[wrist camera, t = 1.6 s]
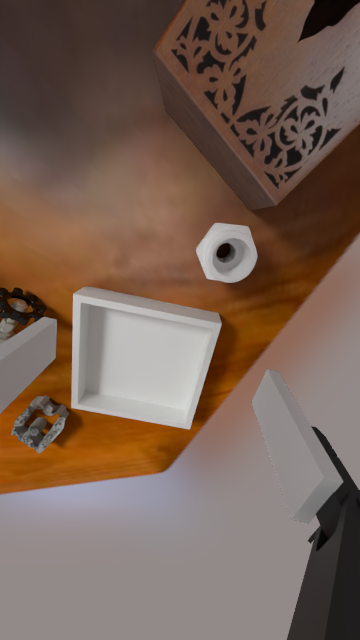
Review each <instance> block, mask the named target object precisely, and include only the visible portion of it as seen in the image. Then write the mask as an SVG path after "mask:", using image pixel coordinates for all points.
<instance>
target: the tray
mask: <svg viewBox="0 0 360 640" xmlns="http://www.w3.org/2000/svg"><path fill="white" fill-rule="evenodd" d="M221 325H222V323H221V320H220V316H219V313H216V312H211V311H206V310H201V309H196V308H191V307H187V306H182V305H177V304H172V303H167V302H162V301H157V300H153V299H148V298H143V297H138V296H133V295H128V294H123V293H118V292H114V291H109V290H104V289H99V288H94V287H89V286H85V287H83V288H82V289H80V290H78V291H77V292H75V293H74V294H73V339H72V400H71V408H75V409H80V410H86V411H91V412H97V413H102V414H108V415H113V416H119V417H124V418H130V419H135V420H141V421H146V422H152V423H157V424H163V425H168V426H174V427H179V428H185V429H190V427H191V424H192V420H193V417H194V414H195V411H196V407H197V404H198V401H199V397H200V394H201V391H202V388H203V384H204V381H205V378H206V374H207V371H208V368H209V365H210V361H211V358H212V355H213V351H214V348H215V345H216V342H217V338H218V335H219V332H220V328H221Z"/></svg>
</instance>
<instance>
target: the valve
mask: <svg viewBox="0 0 360 640" xmlns="http://www.w3.org/2000/svg"><path fill="white" fill-rule="evenodd" d="M0 295H2V296H3V297H0V309H1V312H0V316H1V317H2V318H3V319H2V321H1V323H0V345H1V344H2V343H4V342H5V341H7V340H8V339H10V338H11V337H13V336H15V335H16V334H15V333H14V331H13V330H14V329H15V328H16V326H17V324H18V323H19V324H21V325H26V324H27V323H28V322H29V320H30V318H32V317H33V318H35V321H34V322H36V321H38V320H40V319H41V318H43V317H44V316H43V315H42V314H43V313H44V312H45V311H46V309H47V308H46V307H45V306H44V305H38V304H37V303H36V302H37V300H38V297H37V296H36V295H30V296H26V295H24V294H23V290H22V289H20V288H14V290H13V291H12V293H10V292H8V290H7V289H5V288H0ZM10 298H18V299H21V300H24V301H26V303H25V302H23V301H21V300H17V301H15V302H13V304H11V306H10V305H9V304H8V302H7V300H8V299H10ZM30 305H31V306H32V308H33V312H29V313H26V310H27V308H28V307H29V306H30ZM38 311H40V313H38Z"/></svg>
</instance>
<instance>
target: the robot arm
mask: <svg viewBox="0 0 360 640" xmlns="http://www.w3.org/2000/svg"><path fill="white" fill-rule="evenodd" d="M56 332H57V320H56V319H52V318H48V317H43V318H41V319H40V320H38V321H36V322H35V323H33V324H32V325H30V326H29V327H27V328H25V329H24V330H22V331H21V332H19V333H18V334H16V335H15V336H13V337H11V338H10V339H8V340H7V341H5V342H4V343H2V344H1V345H0V413H1V412H2V411H3V410H4V409H5V408H6V407H7V406H8V405H9V404H10V403H11V402H12V401H13V400H14V399H15V398H16V397H17V396H18V395H19V394H20V393H21V392H22V391H23V390H24V389H25V388H26V387H27V386H28V385H29V384H30V383H31V382H32V381H33V380H34V379H35V378H36V377H37V376H38V375H39V374H40V373H41V372H42V371H43V370H44V369H45V368H46V367H47V366H48V365H49V364H50V363H51V362H52V361H53V360H54V359H55V358H56ZM251 403H252V406H253V408H254V412H255V415H256V417H257V420H258V423H259V426H260V429H261V432H262V435H263V438H264V441H265V444H266V447H267V450H268V453H269V456H270V459H271V462H272V464H273V468H274V471H275V474H276V476H277V480H278V483H279V485H280V489H281V492H282V495H283V498H284V501H285V503H286V506H287V509H288V512H289V515H290V518H291V520H294V521H299V522H304V523H309V522H310V521H311V520H312V519H313V518H314V517H315V515H316V516H317V518H318V520H319V523H320V526H319V528H318V529H317V530H316V531H315V532H314V533H313V534H312V536H311V537H310V538H309V540H308V541H309V542H310V543H311V542H312V541H313V540H314V542H313V546H312V549H311V553H310V557H309V560H308V564H307V568H306V571H305V575H304V579H303V582H302V586H301V590H300V594H299V597H298V601H297V605H296V608H295V612H294V615H293V619H292V623H291V627H290V630H289V634H288V638H287V640H360V490H358V488H357V486H356V485H355V483H354V482H353V480H352V478H351V477H350V475H349V473H348V472H347V470H346V469H345V467H344V466H343V464H342V462H341V461H340V459H339V458H338V457H337V454H336V453H335V451H334V450H333V449H332V446H331V445H330V443H329V442H328V440H327V439H326V437H325V436H324V435H323V434H322V433H321V432H320V431H319V430H318V429H317V428H316V427H312V426H310V424H309V422H308V421H307V419H306V417H305V416H304V414H303V412H302V410H301V409H300V407H299V405H298V404H297V402H296V400H295V398H294V397H293V395H292V393H291V392H290V390H289V388H288V387H287V385H286V383H285V381H284V380H283V378H282V377H281V375H280V373H279V372H278V371H274V370H269V369H267V370H266V372H265V375H264V377H263V379H262V381H261V383H260V385H259V387H258V389H257V391H256V394H255V396H254V398H253V400H252V402H251Z"/></svg>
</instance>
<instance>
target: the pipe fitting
mask: <svg viewBox="0 0 360 640" xmlns="http://www.w3.org/2000/svg"><path fill="white" fill-rule="evenodd" d="M224 243H229V245H230V253H229V254H228V255H227V256H226V257H224V258H218V257H217V256H216V252H217V249H218V247H219V246H220V245H222V244H224ZM196 253H197V255H198V258H199V260H200V263H201V265H202V268H203V270H204V273H205V275H206V277H207V279H210V280H219V281H222V282H226V283H233V282H238V281H240V280H242V279H244V278H245V277H247V276H248V275H249V274H250V273H251V271H252V270H253V268H254V266H255V263H256V260H257V258H258V255H257V251H256V247H255V245H254V242H253V238H252V235H251V232H250V229H249V227H248V226H242V225H233V224H224V223H215V224H214V225H213V226H212V227H211V229H210V230H209V231H208V233H207V234H206V235H205V237H204V238H203V240H202V241H201V242H200V244H199V245H198V246H197V248H196Z"/></svg>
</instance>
